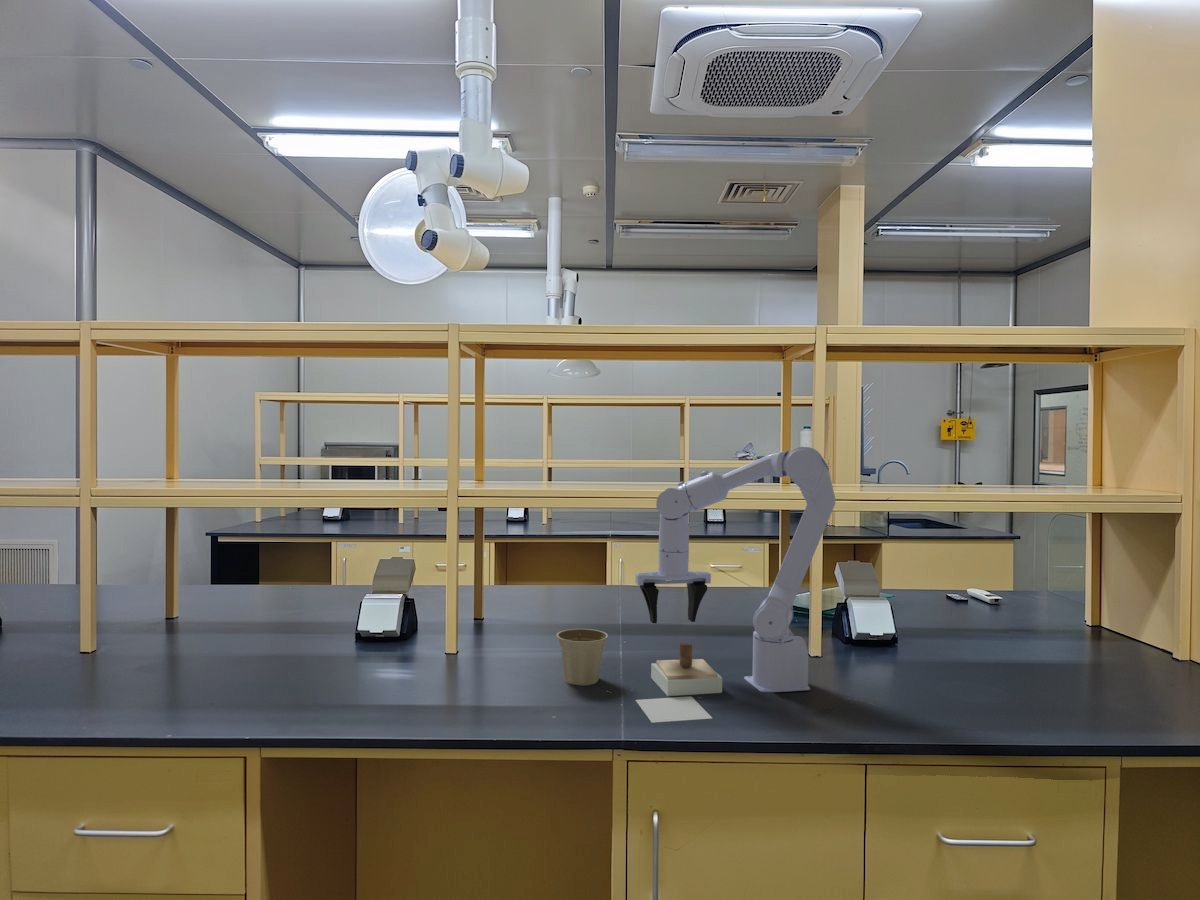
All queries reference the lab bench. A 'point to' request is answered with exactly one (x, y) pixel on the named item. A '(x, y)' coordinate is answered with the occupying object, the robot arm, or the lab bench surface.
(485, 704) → the lab bench surface
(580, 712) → the lab bench surface
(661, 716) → the mat
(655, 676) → the dish
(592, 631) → the flower pot
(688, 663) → the lid
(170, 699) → the lab bench surface
